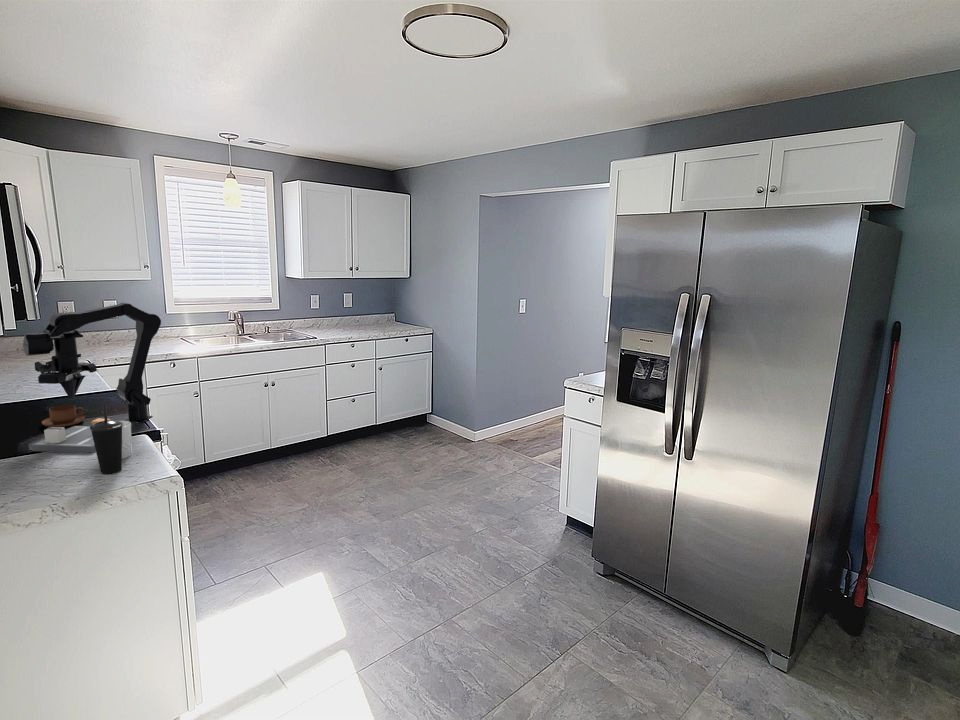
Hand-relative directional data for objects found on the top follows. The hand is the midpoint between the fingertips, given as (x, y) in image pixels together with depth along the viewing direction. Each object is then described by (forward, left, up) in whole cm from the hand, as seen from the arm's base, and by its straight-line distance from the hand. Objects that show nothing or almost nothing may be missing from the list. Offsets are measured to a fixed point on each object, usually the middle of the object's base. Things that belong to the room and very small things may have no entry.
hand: (71, 398), depth 178 cm
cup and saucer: (-8, -10, -12) cm, 18 cm away
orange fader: (+4, +12, -10) cm, 16 cm away
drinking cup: (+30, +31, -12) cm, 45 cm away
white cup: (+19, +26, -12) cm, 34 cm away
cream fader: (+14, +4, -10) cm, 17 cm away
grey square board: (+8, +8, -12) cm, 16 cm away
